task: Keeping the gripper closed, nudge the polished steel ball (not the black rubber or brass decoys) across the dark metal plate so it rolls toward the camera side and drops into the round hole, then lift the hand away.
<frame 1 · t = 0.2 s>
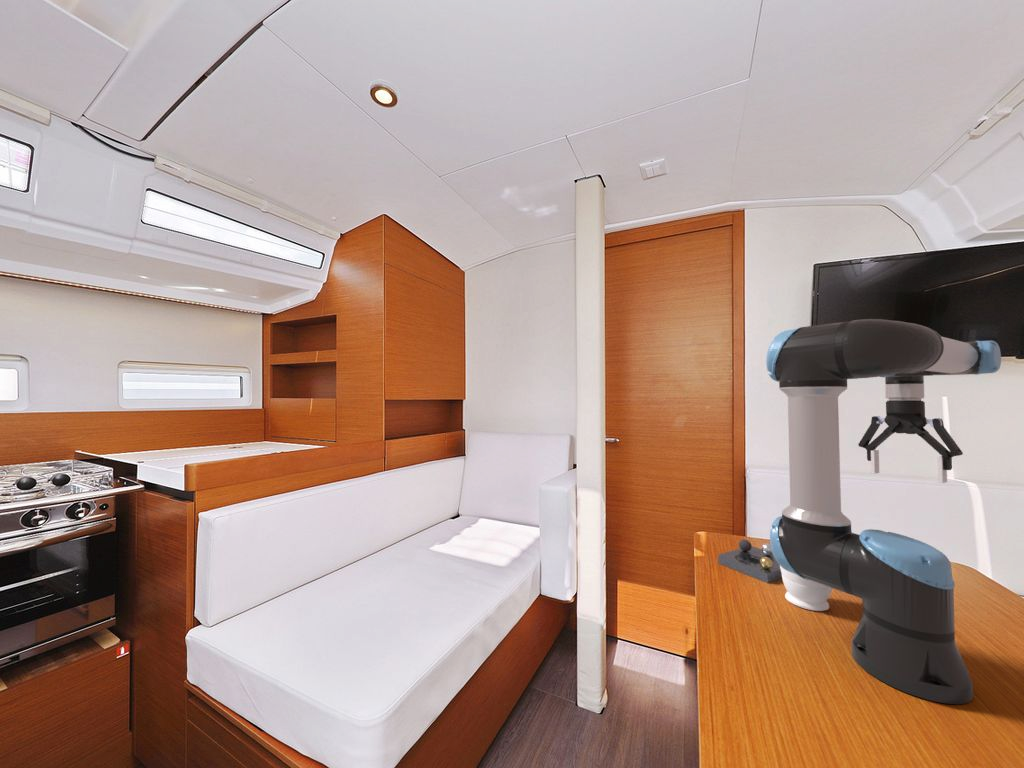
hand: (907, 477, 105), 28 cm above the table, fingers open, 13 cm apart
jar: (806, 603, 93), on the table
plate: (758, 567, 113), on the table
black ball: (745, 545, 118), point 4 cm above the table, touching plate
brass ball: (766, 562, 106), point 4 cm above the table, touching plate
ball: (767, 549, 115), point 4 cm above the table, touching plate
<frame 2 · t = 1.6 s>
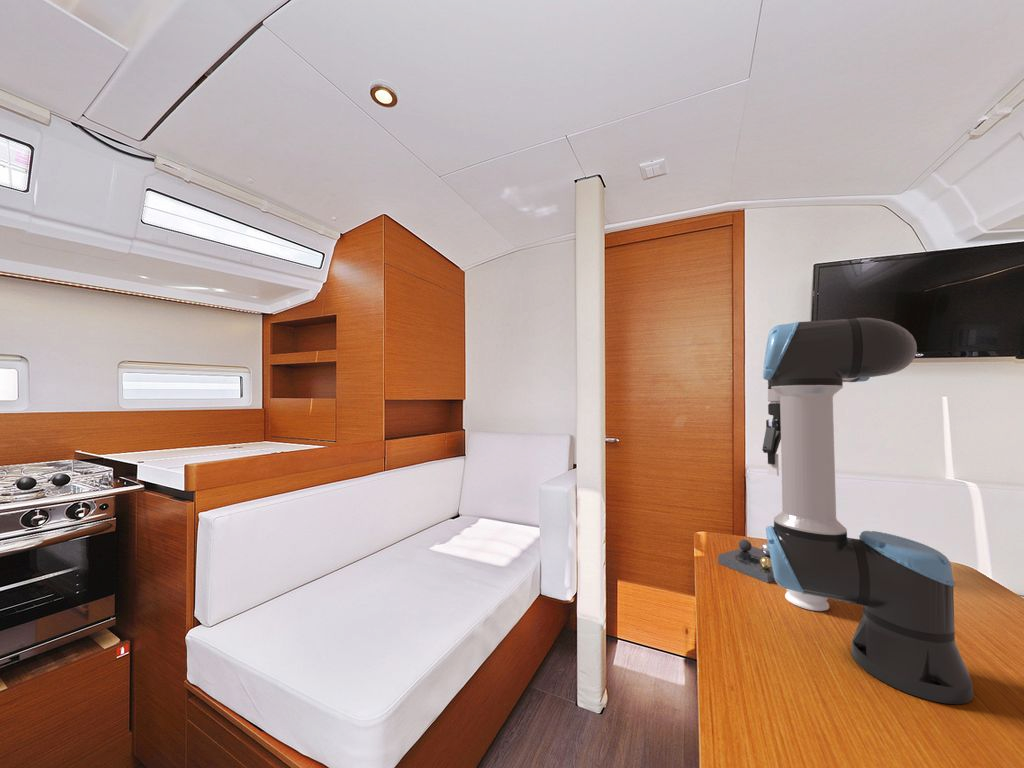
hand: (783, 473, 120), 26 cm above the table, fingers open, 11 cm apart
nothing on the table moved.
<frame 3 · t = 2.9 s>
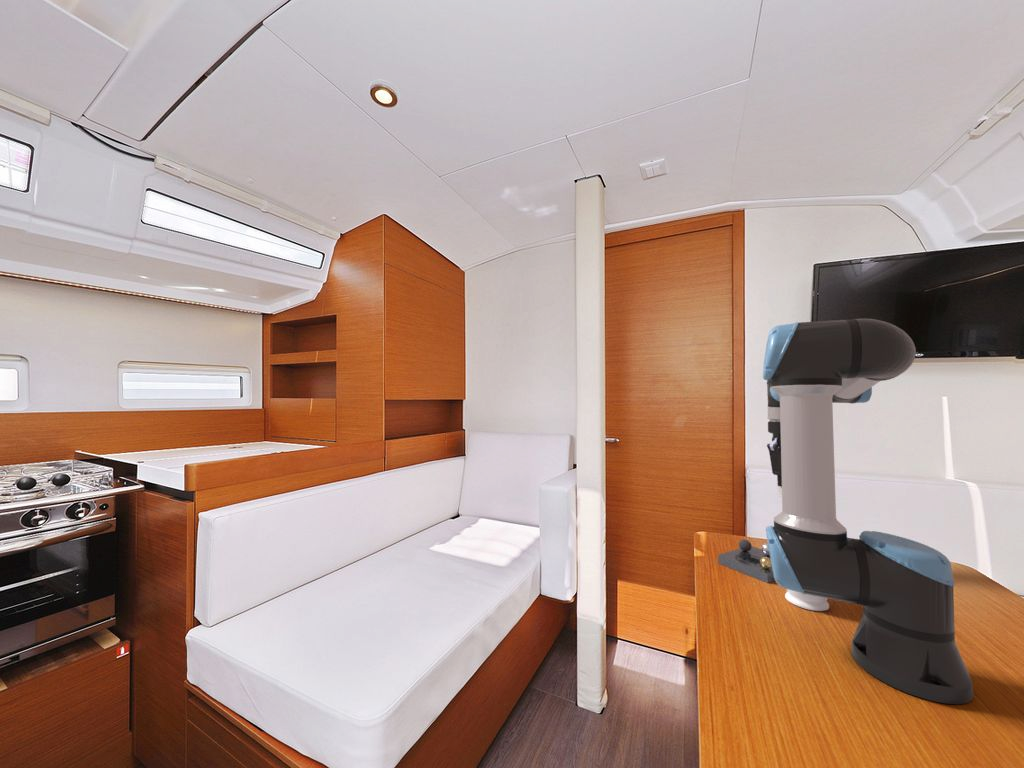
hand: (783, 496, 120), 19 cm above the table, fingers closed
nothing on the table moved.
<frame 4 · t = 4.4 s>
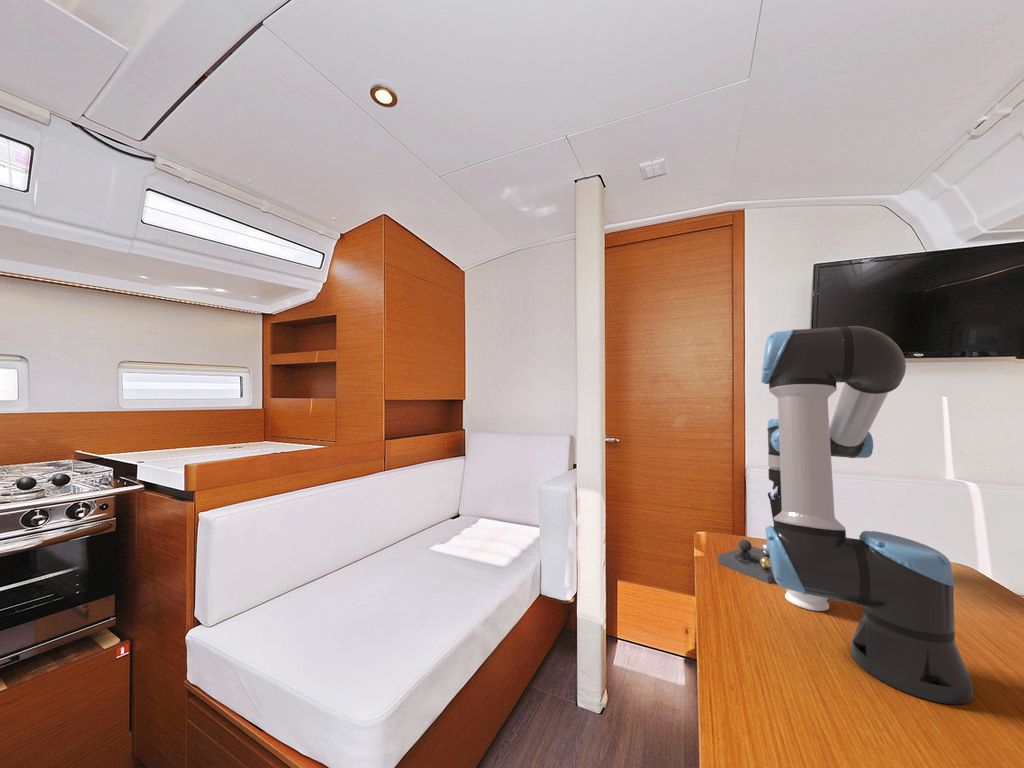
hand: (784, 545, 119), 4 cm above the table, fingers closed
nothing on the table moved.
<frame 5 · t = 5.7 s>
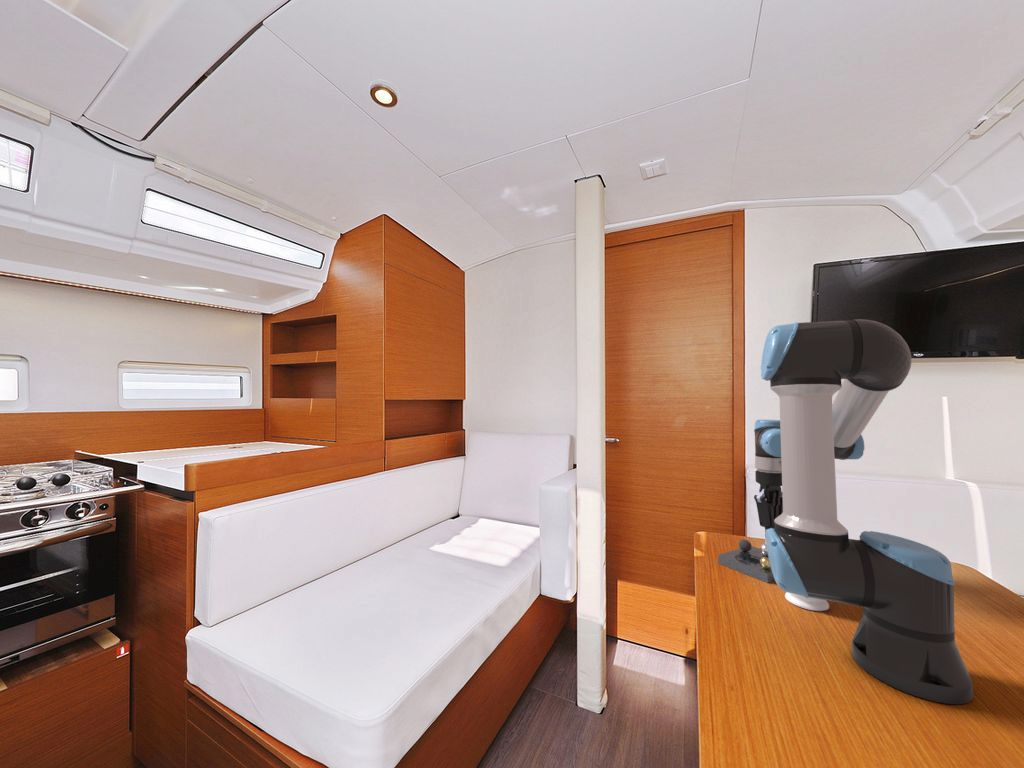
hand: (771, 549, 116), 4 cm above the table, fingers closed
ball: (766, 549, 115), point 4 cm above the table, tilted 20°, touching gripper, plate
everything else where it was.
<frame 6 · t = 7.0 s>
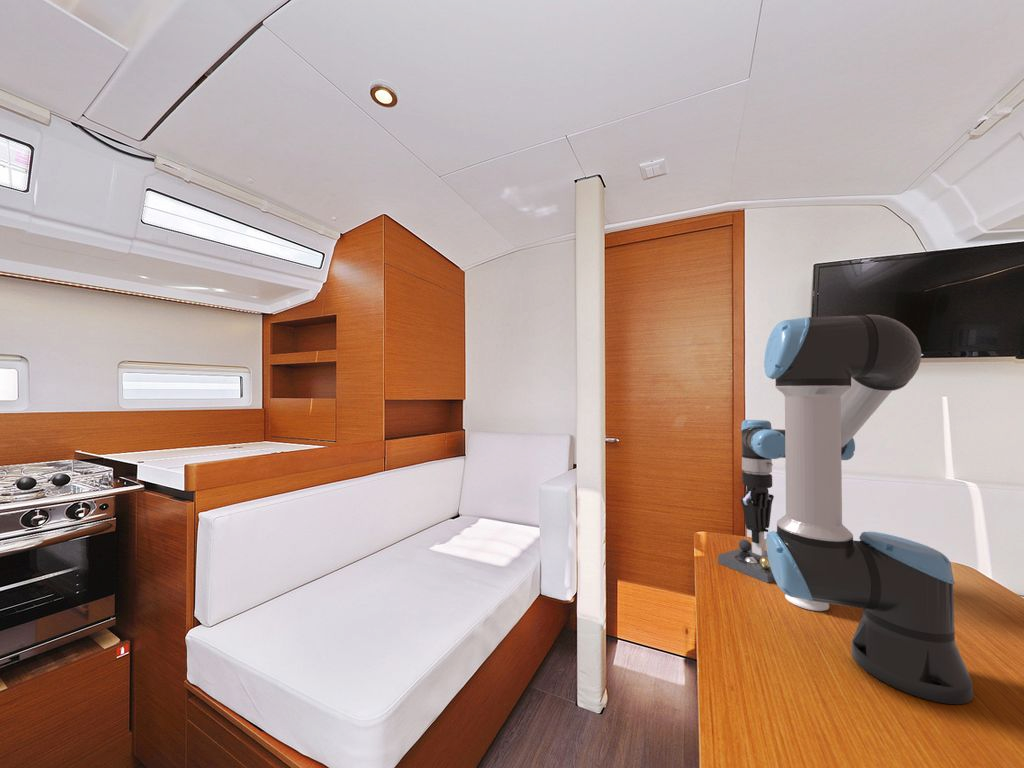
hand: (758, 553, 113), 4 cm above the table, fingers closed
ball: (751, 563, 111), point 2 cm above the table, tilted 60°
everything else where it was.
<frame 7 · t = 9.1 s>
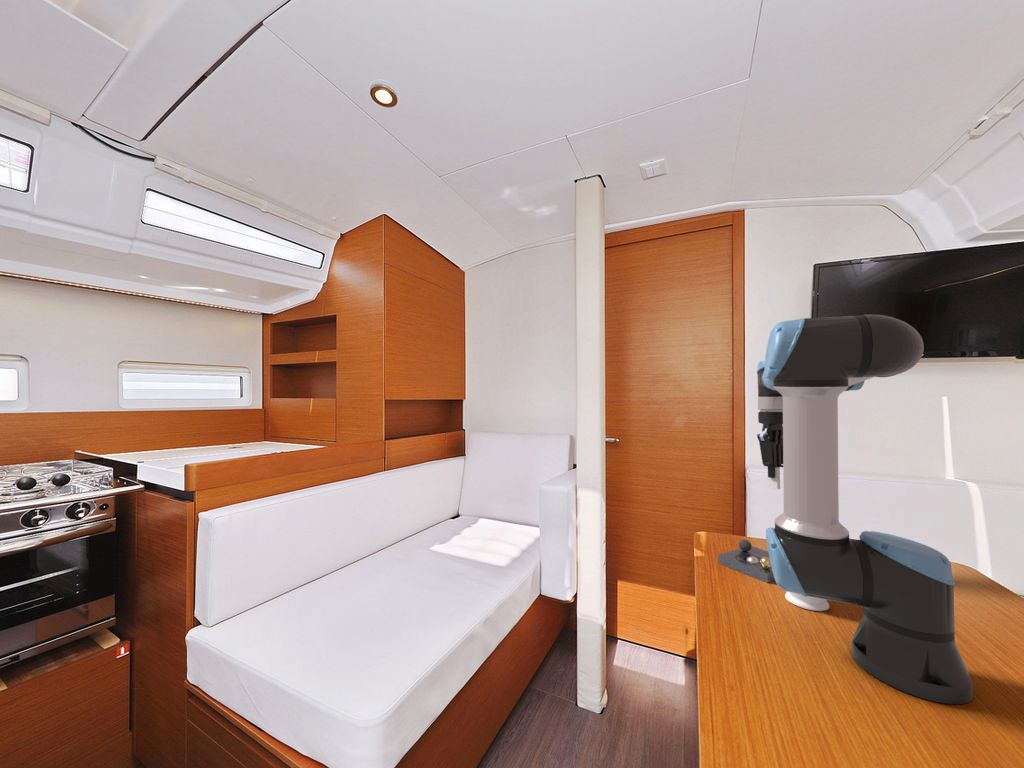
hand: (774, 488, 118), 22 cm above the table, fingers closed
ball: (752, 562, 112), point 2 cm above the table, tilted 90°
everything else where it was.
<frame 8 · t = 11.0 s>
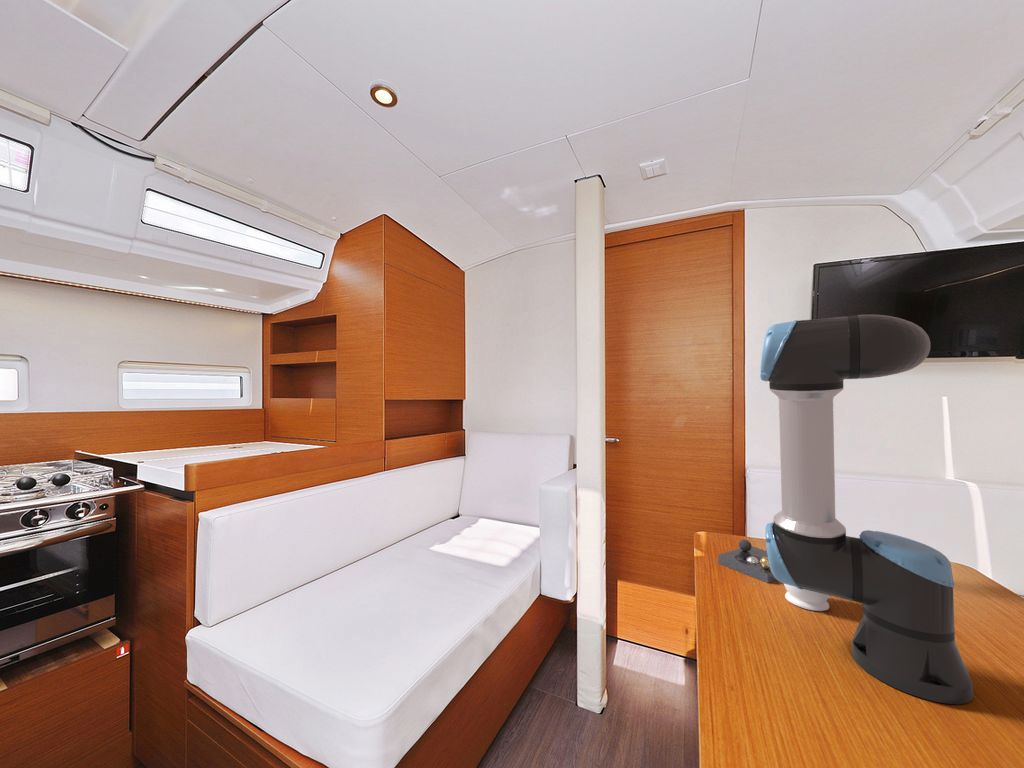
hand: (811, 477, 113), 26 cm above the table, fingers closed
nothing on the table moved.
at the end: ball 0.4 cm from the target spot in the plate, point 1.7 cm above the plate's base; black ball moved 0.0 cm from its start; brass ball moved 0.0 cm from its start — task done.
